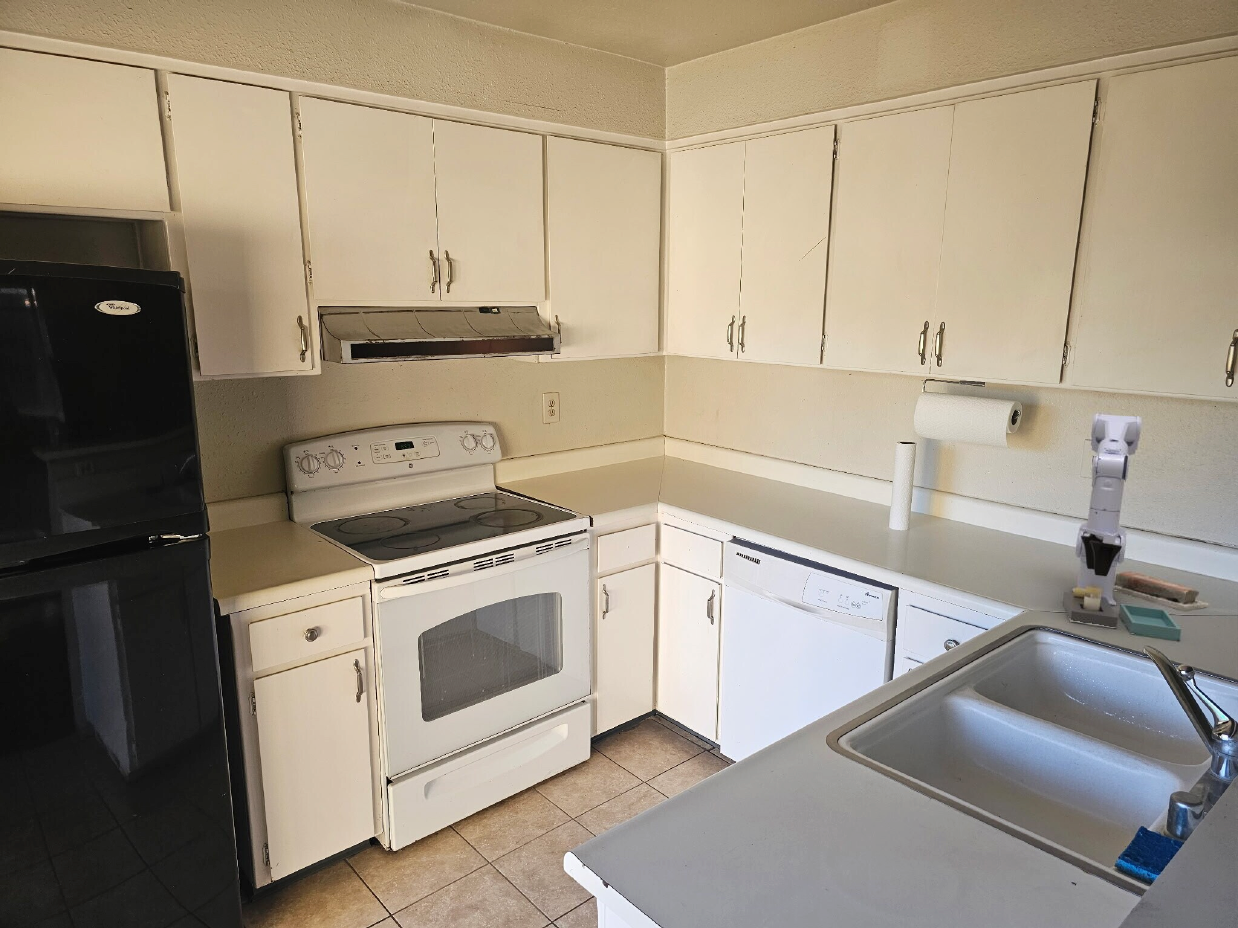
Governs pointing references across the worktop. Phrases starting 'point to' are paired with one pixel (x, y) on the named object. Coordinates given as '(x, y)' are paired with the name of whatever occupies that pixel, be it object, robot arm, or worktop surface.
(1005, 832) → the worktop surface
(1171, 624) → the parts tray
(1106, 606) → the fuse board
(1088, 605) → the cylinder
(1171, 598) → the packaged product
